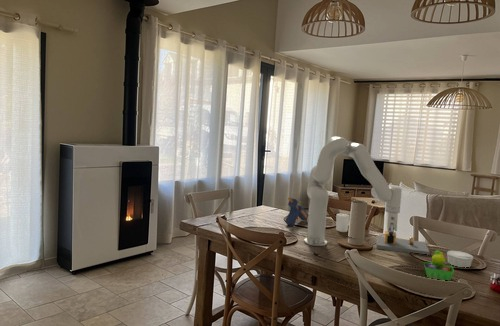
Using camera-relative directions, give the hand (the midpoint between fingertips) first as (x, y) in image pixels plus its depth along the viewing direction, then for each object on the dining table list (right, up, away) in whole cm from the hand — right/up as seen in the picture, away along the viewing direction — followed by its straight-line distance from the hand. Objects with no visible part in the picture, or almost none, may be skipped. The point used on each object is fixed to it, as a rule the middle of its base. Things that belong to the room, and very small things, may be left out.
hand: (389, 240), depth 206 cm
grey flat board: (+6, -3, -2) cm, 7 cm away
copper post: (+10, -2, -3) cm, 11 cm away
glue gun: (-46, +3, +38) cm, 60 cm away
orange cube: (0, -1, 0) cm, 1 cm away
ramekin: (+24, -7, -25) cm, 35 cm away
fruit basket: (+5, -8, -42) cm, 43 cm away
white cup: (-20, +1, +25) cm, 33 cm away
